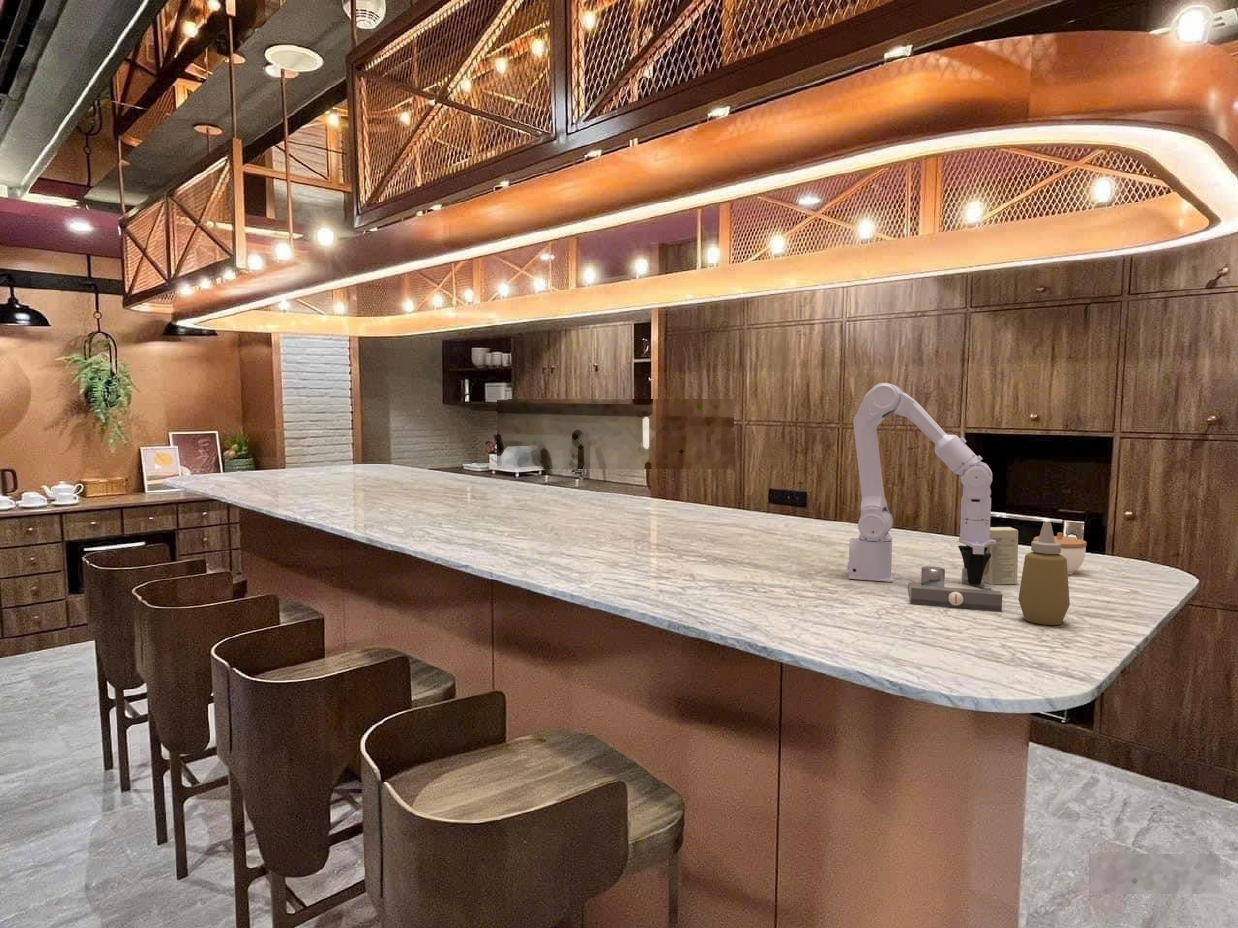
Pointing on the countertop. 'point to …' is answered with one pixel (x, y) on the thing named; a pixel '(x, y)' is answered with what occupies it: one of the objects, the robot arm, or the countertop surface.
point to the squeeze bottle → (1044, 581)
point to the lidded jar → (1071, 551)
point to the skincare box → (1002, 556)
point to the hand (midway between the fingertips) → (973, 581)
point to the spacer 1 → (932, 576)
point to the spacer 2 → (966, 582)
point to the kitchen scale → (955, 596)
